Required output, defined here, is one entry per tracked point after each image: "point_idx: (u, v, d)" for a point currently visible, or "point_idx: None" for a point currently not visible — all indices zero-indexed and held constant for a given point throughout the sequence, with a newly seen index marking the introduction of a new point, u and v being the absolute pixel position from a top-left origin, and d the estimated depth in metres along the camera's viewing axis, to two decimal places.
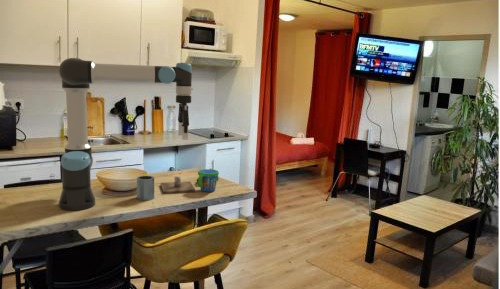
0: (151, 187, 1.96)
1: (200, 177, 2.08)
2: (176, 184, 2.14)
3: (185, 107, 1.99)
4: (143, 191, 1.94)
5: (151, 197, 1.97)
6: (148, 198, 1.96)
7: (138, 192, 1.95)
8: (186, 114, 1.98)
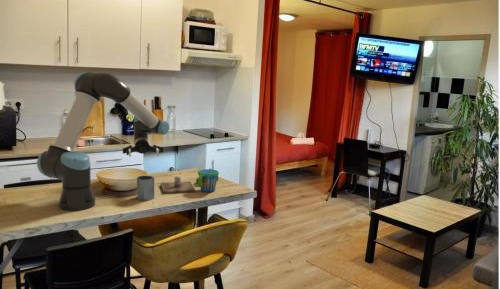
0: (151, 187, 1.96)
1: (200, 177, 2.08)
2: (176, 184, 2.14)
3: None
4: (143, 191, 1.94)
5: (151, 197, 1.97)
6: (148, 198, 1.96)
7: (138, 192, 1.95)
8: None
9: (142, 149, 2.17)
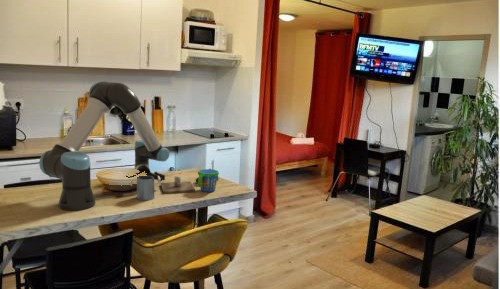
0: (151, 187, 1.96)
1: (200, 177, 2.08)
2: (176, 184, 2.14)
3: None
4: (143, 191, 1.94)
5: (151, 197, 1.97)
6: (148, 198, 1.96)
7: (138, 192, 1.95)
8: None
9: None
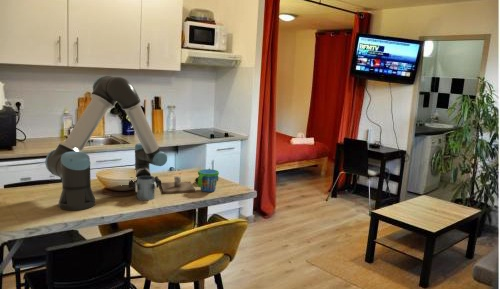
0: (151, 187, 1.96)
1: (200, 177, 2.08)
2: (176, 184, 2.14)
3: None
4: (143, 191, 1.94)
5: (151, 197, 1.97)
6: (148, 198, 1.96)
7: (138, 192, 1.95)
8: None
9: None
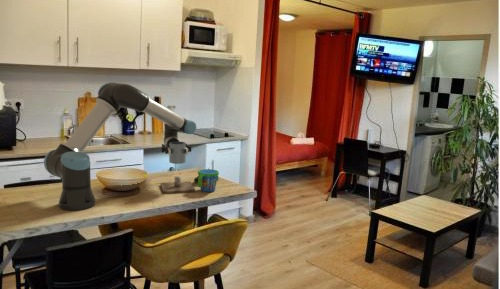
0: (183, 151, 2.10)
1: (200, 177, 2.08)
2: (176, 184, 2.14)
3: None
4: (176, 155, 2.09)
5: (183, 161, 2.11)
6: (180, 161, 2.10)
7: (171, 156, 2.10)
8: None
9: None
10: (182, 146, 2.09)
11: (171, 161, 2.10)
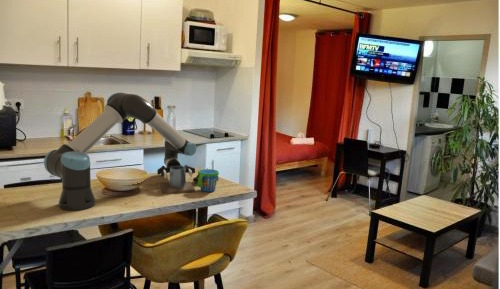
0: (183, 176, 2.13)
1: (200, 177, 2.08)
2: None
3: None
4: (176, 180, 2.11)
5: (183, 185, 2.14)
6: (180, 186, 2.13)
7: (171, 181, 2.13)
8: None
9: None
10: (182, 171, 2.12)
11: (171, 186, 2.13)
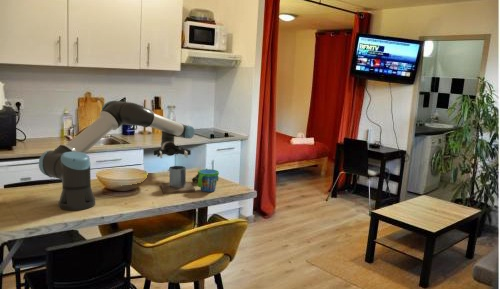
0: (183, 176, 2.13)
1: (200, 177, 2.08)
2: None
3: None
4: (176, 180, 2.11)
5: (183, 185, 2.14)
6: (180, 186, 2.13)
7: (171, 181, 2.13)
8: None
9: (171, 151, 2.34)
10: (182, 171, 2.12)
11: (171, 186, 2.13)
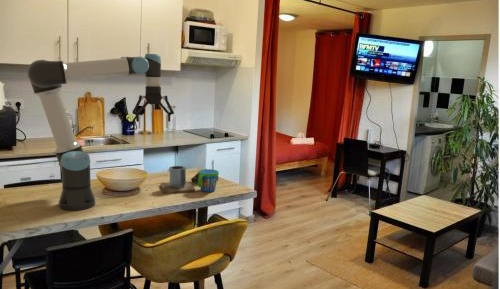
0: (183, 176, 2.13)
1: (200, 177, 2.08)
2: None
3: None
4: (176, 180, 2.11)
5: (183, 185, 2.14)
6: (180, 186, 2.13)
7: (171, 181, 2.13)
8: None
9: None
10: (182, 171, 2.12)
11: (171, 186, 2.13)
